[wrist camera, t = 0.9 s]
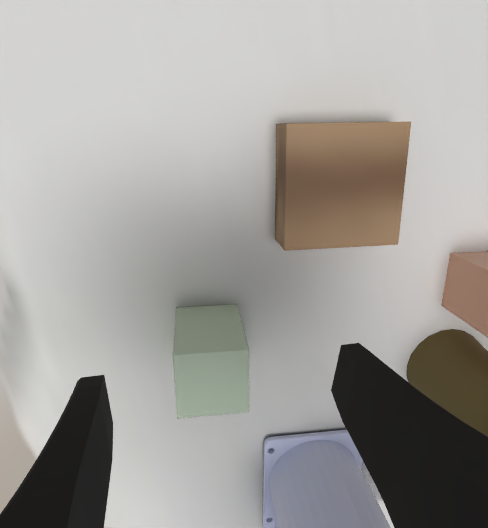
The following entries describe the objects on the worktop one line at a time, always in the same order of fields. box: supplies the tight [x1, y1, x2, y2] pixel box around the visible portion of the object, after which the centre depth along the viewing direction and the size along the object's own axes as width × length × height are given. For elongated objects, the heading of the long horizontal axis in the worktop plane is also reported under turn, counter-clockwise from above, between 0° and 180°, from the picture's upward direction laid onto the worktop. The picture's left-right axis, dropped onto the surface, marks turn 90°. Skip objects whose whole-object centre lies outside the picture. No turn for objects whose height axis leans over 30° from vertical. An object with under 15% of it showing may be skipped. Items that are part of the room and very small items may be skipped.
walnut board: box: [275, 122, 411, 250], centre depth 24 cm, size 7×7×3 cm
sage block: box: [173, 304, 249, 419], centre depth 25 cm, size 4×4×6 cm
